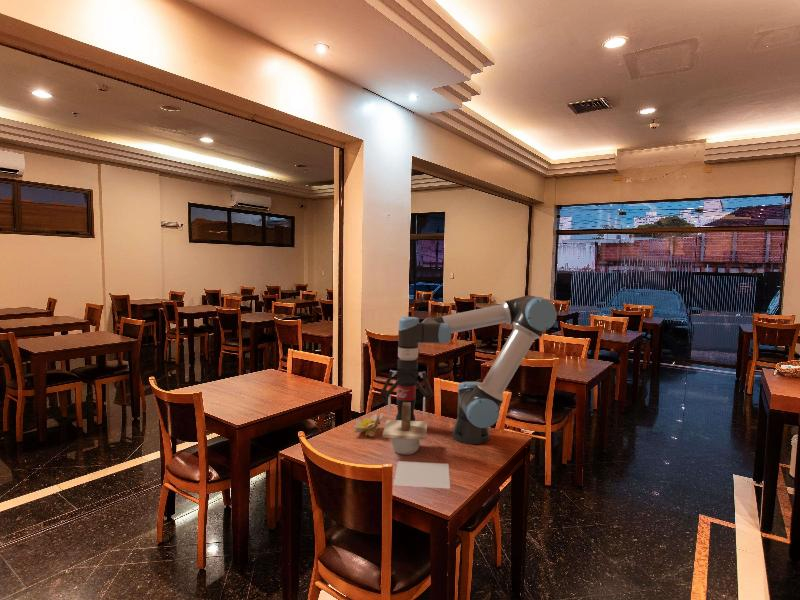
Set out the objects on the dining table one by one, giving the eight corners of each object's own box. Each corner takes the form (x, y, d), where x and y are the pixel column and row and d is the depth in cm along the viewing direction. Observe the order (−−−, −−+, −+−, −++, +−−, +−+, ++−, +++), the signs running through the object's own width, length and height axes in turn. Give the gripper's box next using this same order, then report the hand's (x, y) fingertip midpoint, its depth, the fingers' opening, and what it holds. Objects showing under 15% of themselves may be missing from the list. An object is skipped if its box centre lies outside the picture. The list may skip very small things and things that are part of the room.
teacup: (416, 459, 167) (417, 438, 166) (387, 456, 169) (388, 435, 168) (422, 445, 181) (422, 425, 180) (395, 442, 183) (395, 422, 182)
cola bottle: (397, 423, 205) (398, 356, 202) (416, 424, 204) (417, 357, 201) (394, 429, 196) (395, 360, 194) (413, 431, 195) (415, 361, 193)
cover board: (427, 424, 181) (427, 399, 181) (426, 439, 166) (427, 412, 165) (387, 422, 183) (387, 397, 182) (382, 437, 167) (382, 410, 166)
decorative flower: (356, 420, 201) (361, 399, 200) (380, 428, 200) (386, 407, 199) (347, 435, 187) (353, 413, 185) (374, 443, 186) (380, 421, 184)
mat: (448, 465, 163) (448, 463, 163) (450, 490, 145) (450, 488, 145) (397, 462, 164) (398, 461, 164) (393, 487, 146) (393, 485, 146)
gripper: (374, 359, 169) (372, 415, 171) (440, 361, 167) (439, 418, 169) (376, 355, 177) (375, 409, 178) (440, 357, 175) (438, 412, 177)
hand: (406, 414), depth 174 cm, fingers open, 12 cm apart
